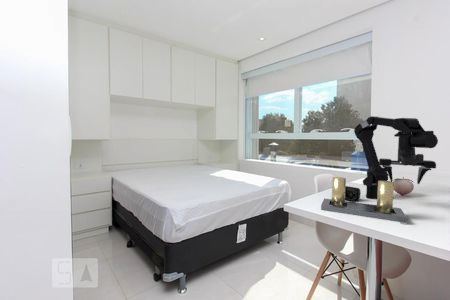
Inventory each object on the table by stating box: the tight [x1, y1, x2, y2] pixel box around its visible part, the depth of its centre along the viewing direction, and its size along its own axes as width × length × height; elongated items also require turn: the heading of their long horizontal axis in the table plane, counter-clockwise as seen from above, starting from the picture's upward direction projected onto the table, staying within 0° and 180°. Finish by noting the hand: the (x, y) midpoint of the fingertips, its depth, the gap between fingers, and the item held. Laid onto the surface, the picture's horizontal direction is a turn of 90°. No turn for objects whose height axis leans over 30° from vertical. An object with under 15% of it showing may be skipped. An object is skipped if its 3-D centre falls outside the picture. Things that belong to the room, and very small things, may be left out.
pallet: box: [320, 198, 408, 225], centre depth 91 cm, size 28×12×2 cm, turn 61°
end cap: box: [345, 185, 362, 202], centre depth 110 cm, size 10×7×7 cm
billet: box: [331, 176, 347, 207], centre depth 94 cm, size 5×5×13 cm
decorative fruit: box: [392, 176, 415, 196], centre depth 118 cm, size 9×8×10 cm
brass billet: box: [376, 180, 395, 213], centre depth 87 cm, size 5×5×13 cm
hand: (404, 182), depth 97 cm, fingers open, 9 cm apart
